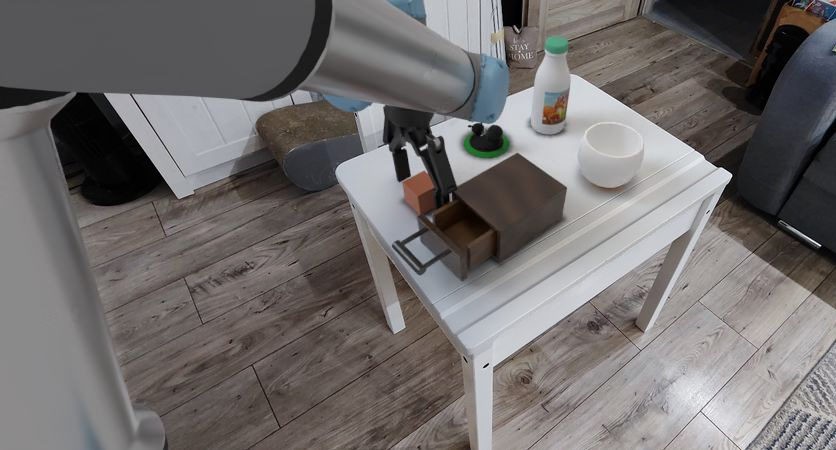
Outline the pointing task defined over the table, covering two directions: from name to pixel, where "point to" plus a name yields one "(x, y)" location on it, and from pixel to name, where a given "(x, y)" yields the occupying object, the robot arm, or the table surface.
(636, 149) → the cup
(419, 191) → the block
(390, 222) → the table surface
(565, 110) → the milk bottle
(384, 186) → the table surface
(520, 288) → the table surface
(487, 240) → the drawer
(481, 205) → the cabinet
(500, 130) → the toy figurine
